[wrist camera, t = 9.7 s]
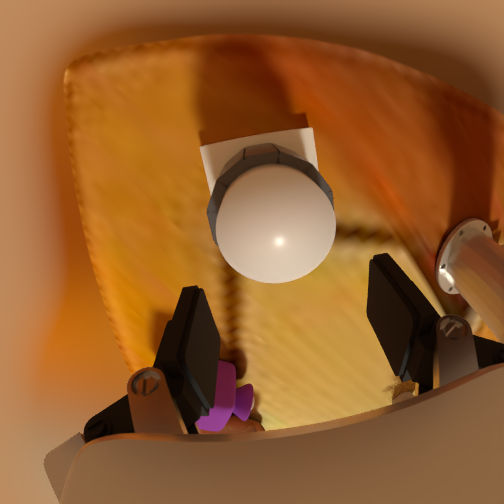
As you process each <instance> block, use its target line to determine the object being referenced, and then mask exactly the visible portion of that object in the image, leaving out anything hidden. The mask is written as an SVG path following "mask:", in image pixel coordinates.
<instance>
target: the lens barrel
mask: <svg viewBox="0 0 504 504" xmlns="http://www.w3.org/2000/svg"><path fill="white" fill-rule="evenodd" d="M200 150H201V155H202V159H203V163H204V168H205V172H206V176H207V181H208V185H209V189H210V193H211V198H210V201H209V205H208V208H207V217H208V220H209V224H210V228H211V232H212V236H213V240H214V241H215V244H216V245H217V246H218V243H217V238H216V220H217V216H218V212H219V209H220V206H221V203H222V200H223V197H224V195H225V192H226V191H227V189H228V187H229V186H230V185H231V183H232V182H233V181H234V180H235V179H236V178H237V177H238V176H239V175H241V174H242V173H243V172H245V171H247V170H249V169H251V168H253V167H256V166H259V165H264V164H283V165H287V166H291V167H294V168H296V169H298V170H300V171H301V172H303V173H304V174H306V175H307V176H308V177H309V178H310V179H311V180H312V181H313V182H314V183H315V184H316V185H317V186H318V187H319V188H320V189H321V190H322V191H323V192H324V193H325V194H326V196H327V197H328V199H329V201H330V203H331V205H332V207H333V210H334V206H333V194H332V191H331V190H332V189H331V188H330V187H329V185H328V184H327V183H326V181H325V180H324V179H323V177H322V176H321V175H320V173H319V172H318V164H317V156H316V149H315V142H314V135H313V129H312V128H311V127H307V128H299V129H291V130H284V131H277V132H270V133H264V134H258V135H252V136H247V137H241V138H236V139H231V140H226V141H221V142H217V143H212V144H208V145H203V146H201V147H200ZM218 247H219V246H218Z"/></svg>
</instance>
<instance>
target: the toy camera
mask: <svg viewBox="0 0 504 504" xmlns="http://www.w3.org/2000/svg"><path fill="white" fill-rule="evenodd" d="M254 402H255V399H254V396H253V386H252V384H246V385H244V386H242V387H239V388H237V389H236V369H235V366H234V365H233V364H232V363H229V362H226V361H221V360H219V362H218V372H217V382H216V392H215V403H214V408H213V409H210V411H209V416H200V419H199V420H198V421H197V424H198V427H199V429H202V430H207V431H220V430H222V429H223V428H224V426H225V425H226V423H227V421H228V420H229V418H230V416H231V414H232V412H233V413H234V414H236V415H237V416H238V417H239V418H240V419H241V420H243V421H246V420H247V419H248V417H249V415H250V412H251V410H252V408H253V407H254Z"/></svg>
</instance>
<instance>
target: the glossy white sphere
mask: <svg viewBox="0 0 504 504" xmlns="http://www.w3.org/2000/svg"><path fill="white" fill-rule="evenodd" d="M335 231H336V220H335V214H334V210H333V207H332V205H331V203H330V201H329V199H328V197H327V196H326V194H325V193H324V192H323V191H322V190H321V189H320V188H319V187H318V186H317V185H316V184H315V183H314V182H313V181H312V180H311V179H310V178H309V177H308V176H307V175H306V174H304V173H303V172H301V171H300V170H298V169H296V168H294V167H291V166H287V165H283V164H264V165H259V166H256V167H253V168H251V169H249V170H247V171H245V172H243V173H242V174H241V175H239V176H238V177H237V178H236V179H235V180H234V181H233V182H232V183H231V185H230V186H229V187H228V189H227V191H226V192H225V195H224V197H223V200H222V203H221V206H220V209H219V212H218V216H217V220H216V238H217V243H218V246H219V249H220V251H221V253H222V255H223V256H224V258H225V259H226V261H227V262H228V263H229V264H230V265H231V266H232V267H233V268H234V269H235V270H236V271H238V272H239V273H241V274H242V275H244V276H246V277H248V278H250V279H253V280H256V281H260V282H265V283H283V282H288V281H292V280H295V279H298V278H300V277H302V276H304V275H306V274H308V273H309V272H311V271H312V270H314V269H315V268H316V267H317V266H318V265H319V264H320V263H321V262H322V261H323V260H324V258H325V257H326V256H327V254H328V252H329V251H330V249H331V246H332V244H333V241H334V237H335Z"/></svg>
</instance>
